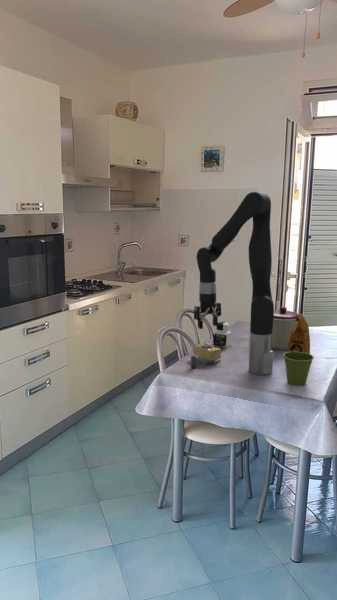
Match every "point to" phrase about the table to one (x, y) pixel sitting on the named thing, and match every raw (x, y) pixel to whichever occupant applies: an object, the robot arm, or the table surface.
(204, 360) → the hub
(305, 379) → the plant pot
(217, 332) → the medicine bottle
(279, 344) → the canister
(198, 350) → the yellow oblong bowl
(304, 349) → the coffee package
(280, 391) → the table surface
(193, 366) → the stand rod
